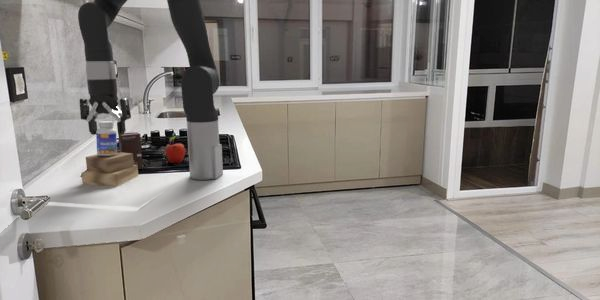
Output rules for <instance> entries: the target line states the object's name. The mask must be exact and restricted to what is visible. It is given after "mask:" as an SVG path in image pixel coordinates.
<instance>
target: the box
mask: <svg viewBox="0 0 600 300" xmlns="http://www.w3.org/2000/svg"><path fill="white" fill-rule="evenodd" d="M117 137H118V145H119V146H118V147H119V152H123V153H132V154H133V161H134V165H138V169H141V168H142V169H143V156H142V153H143V152H142V142H141V141H142V140H141V138H142V137H141V134H140V133H139V132H137V131H136V132H124V134H123V135H118V134H117Z"/></svg>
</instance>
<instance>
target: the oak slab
mask: <svg viewBox="0 0 600 300" xmlns="http://www.w3.org/2000/svg"><path fill="white" fill-rule="evenodd" d="M80 175H81V180H82V181H81V183H82V185H88V186H89V185H91V186H114V187H119V186H121V185H122V184H125V183H126V182H129V181H130V180H132V179H134V178H137V177H138V176H139V170H138V165H134V167H131V168H127V169H124V170H120V171H117V172H113V173H110V174H109V173H102V172H95V171H88V170H87V169H86V170H85V171H83V172H81V174H80Z"/></svg>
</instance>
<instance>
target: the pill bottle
mask: <svg viewBox="0 0 600 300" xmlns="http://www.w3.org/2000/svg"><path fill="white" fill-rule="evenodd" d="M114 125H115V124H114V121H111V120H110V121H109V120H107V121H106V120H105V121H104V120H102V121H98V127H99V128H97V131H96V134H95V135H96V136H95V137H96V154H97V155H99V156H113V155H116V154H117V152H118V140H117V139H118V138H117V137H118V131H117V129H115V128H114Z"/></svg>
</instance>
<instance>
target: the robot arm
mask: <svg viewBox="0 0 600 300" xmlns="http://www.w3.org/2000/svg"><path fill="white" fill-rule="evenodd" d="M127 1H128V0H94V1H90V2H84V3H83V4H82V5H81V6H80V7H79V9H78V13H77V20H78V26H79V29H80V33H81V37H82V38H81V39H82V41H83V45H84V46H83V47H84V57H85V75H86V84H87V91H88V95H89V98H87V97H83V98H80V99H79V112H80V113H79V114H80V119H81V120H82V121H83V120H85V121H87V123H88V131H89V133H90V135H94V136H95V135H96V131H97V130H98V123H97V121H96V120H97V118H98V116H99V115H102V114H105V115H109V114H110V115H111V116H112V117H113V118H114V119H115V120H116V121H117V122H116V127H117V129H116V130H117V136H118V135H123V134H124V133H126V130H127V129H126V121H127V120H130V119H132V115H131V108H130V103H129V98H127V97H125V98H124V97H123V98H120V99H119V97H118V84H117V83H118V82H117V73H116V68H115V67H116V66H115V62H114V54H113V46H112V43H111V42H110V39H109V33H108V28H109V27H110V26H111V25H112V24H113V22H114V21H115V19H116V17H117V16H118V15H119V12H120V11H121V10H122V8H123V6H124V5H125V4H126V3H127ZM166 2H167V7H168V11H169V14H170V15H169V16H170V19H171V22H172V24H173V27H174V29H175V32H176V33H177V35H178V37H179V39H180V41H181V43H182V45H183V47H184V49H185V52H186V55H187V59H188V65H189V67H188V68H186V69H185V70H184V71H183V73H182V75H181V81H180V83H181V84H180V85H181V86H180V87H181V89H180V90H181V97H182V98H181V99H182V107H183V111H184V112H183V113H184V114H185V117H186V134H187V149H188V150H187V151H188V165H189V167H188V168H189V178H190V179H192V180H197V181H200V180H201V181H206V180H207V181H208V180H217V179H218V178H220V177H221V176H222V175H223V174H224V169H223V166H224V165H223V147H222V143H220V129H219V128H220V127H219V112H218V110H217V108H216V107H215V103H214V94H215V93H216V92H217V91H218V90H219V87H220V75H219V73H218V69H217V65H216V63H215V60H214V58H213V54H212V50H211V47H210V41H209V35H208V30H207V25H206V20H205V16H204V14H205V13H204V10H203V6H202V5H203V4H202V1H201V0H166ZM118 105H119V106H118ZM90 106H91V109H90ZM119 107H120V108H119Z"/></svg>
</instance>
